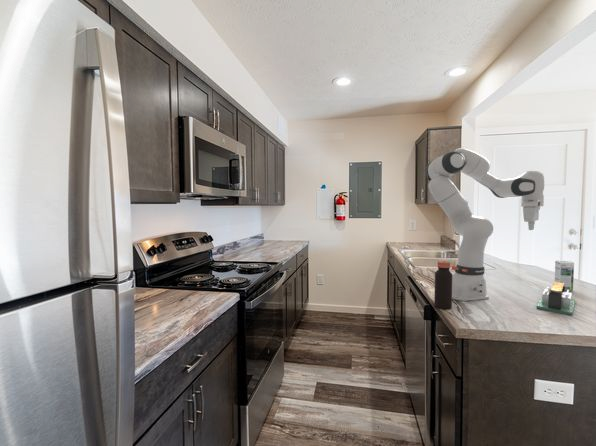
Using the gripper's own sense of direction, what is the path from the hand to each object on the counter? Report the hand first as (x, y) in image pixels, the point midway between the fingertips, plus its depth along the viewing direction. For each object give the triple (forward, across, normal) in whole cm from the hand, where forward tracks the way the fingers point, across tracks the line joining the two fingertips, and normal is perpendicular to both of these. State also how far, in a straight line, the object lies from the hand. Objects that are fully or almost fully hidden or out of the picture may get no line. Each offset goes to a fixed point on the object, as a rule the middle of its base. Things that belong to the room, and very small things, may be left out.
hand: (531, 229), depth 148 cm
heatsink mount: (+31, +21, +12) cm, 39 cm away
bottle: (+31, +58, -22) cm, 70 cm away
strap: (+24, +20, +12) cm, 34 cm away
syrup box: (+31, -13, +13) cm, 36 cm away
